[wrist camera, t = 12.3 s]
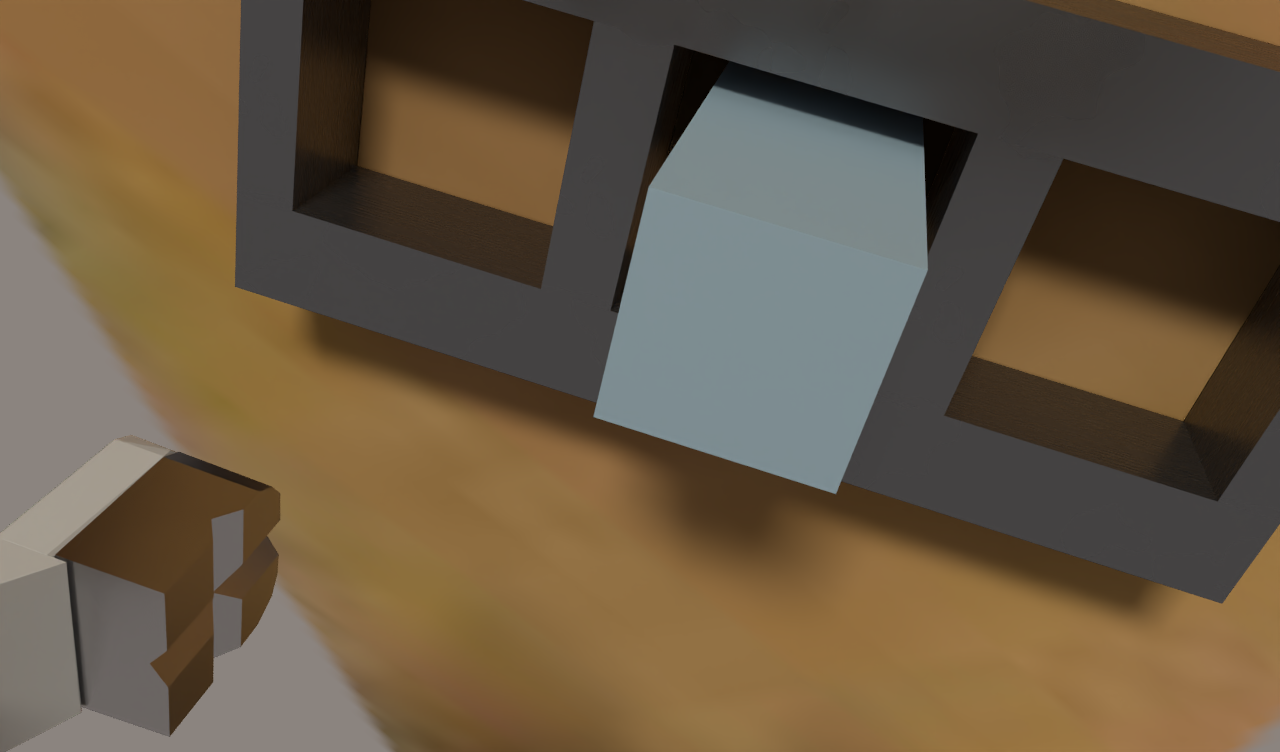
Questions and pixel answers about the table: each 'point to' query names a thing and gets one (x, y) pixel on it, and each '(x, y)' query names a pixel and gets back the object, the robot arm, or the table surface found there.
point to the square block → (771, 277)
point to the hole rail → (955, 220)
